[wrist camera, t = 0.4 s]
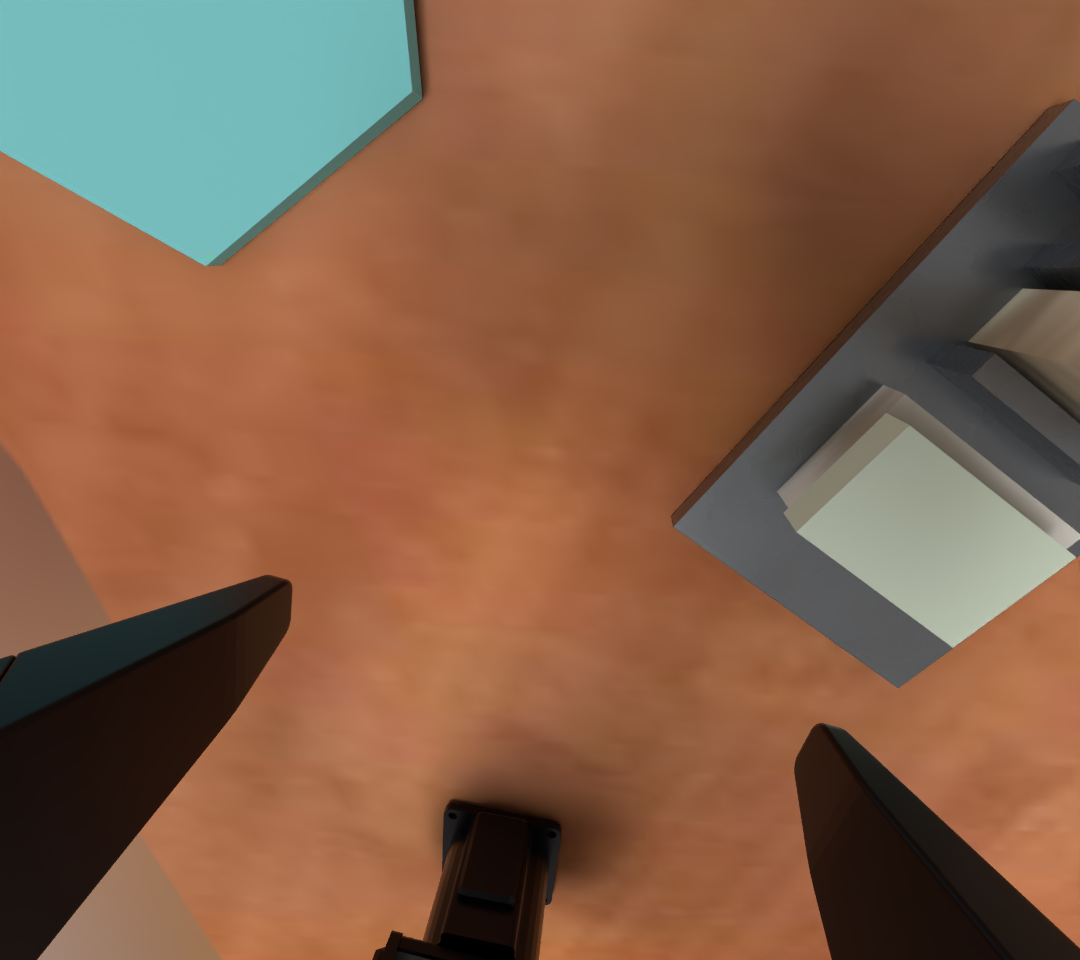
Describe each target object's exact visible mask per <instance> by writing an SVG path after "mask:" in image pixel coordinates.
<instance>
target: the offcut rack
mask: <svg viewBox="0 0 1080 960" xmlns="http://www.w3.org/2000/svg"><path fill="white" fill-rule="evenodd" d="M1022 289H1043V290H1063V291H1080V104H1079V103H1078V102H1077V101H1076V100H1075V99H1073V100H1070V101H1067V102H1065V103H1062V104H1059V105H1057V106H1054V107H1051V108H1049V109H1047V110H1046V111H1045V112H1044V114H1043V115H1042V116H1041V117H1040V118H1039V119H1038V120H1037V121H1036V122H1035V123H1034V124H1033V125H1032V127H1031V128H1030V129H1029V130H1028V131H1027V132H1026V133H1025V134H1024V135H1023V136H1022V137H1021V138H1020V140H1019V141H1018V142H1017V143H1016V144H1015V145H1014V146H1013V147H1012V148H1011V149H1010V150H1009V151H1008V152H1007V154H1006V155H1005V156H1004V157H1003V158H1002V159H1001V160H1000V161H999V162H998V163H997V164H996V165H995V167H994V168H993V169H992V170H991V171H990V172H989V173H988V174H987V175H986V176H985V177H984V178H983V180H982V181H981V182H980V183H979V184H978V185H977V186H976V187H975V188H974V189H973V190H972V191H971V192H970V194H969V195H968V196H967V197H966V198H965V199H964V200H963V201H962V202H961V203H960V204H959V205H958V207H957V208H956V209H955V210H954V211H953V212H952V213H951V214H950V215H949V216H948V217H947V218H946V220H945V221H944V222H943V223H942V224H941V225H940V226H939V227H938V228H937V229H936V230H935V231H934V233H933V234H932V235H931V236H930V237H929V238H928V239H927V240H926V241H925V242H924V243H923V244H922V245H921V247H920V248H919V249H918V250H917V251H916V252H915V253H914V254H913V255H912V256H911V257H910V258H909V260H908V261H907V262H906V263H905V264H904V265H903V266H902V267H901V268H900V269H899V270H898V271H897V273H896V274H895V275H894V276H893V277H892V278H891V279H890V280H889V281H888V282H887V283H886V284H885V285H884V287H883V288H882V289H881V290H880V291H879V292H878V293H877V294H876V295H875V296H874V297H873V298H872V300H871V301H870V302H869V303H868V304H867V305H866V306H865V307H864V308H863V309H862V310H861V311H860V313H859V314H858V315H857V316H856V317H855V318H854V319H853V320H852V321H851V322H850V323H849V324H848V326H847V327H846V328H845V329H844V330H843V331H842V332H841V333H840V334H839V335H838V336H837V337H836V338H835V340H834V341H833V342H832V343H831V344H830V345H829V346H828V347H827V348H826V349H825V350H824V351H823V353H822V354H821V355H820V356H819V357H818V358H817V359H816V360H815V361H814V362H813V363H812V364H811V366H810V367H809V368H808V369H807V370H806V371H805V372H804V373H803V374H802V375H801V376H800V377H799V378H798V380H797V381H796V382H795V383H794V384H793V385H792V386H791V387H790V388H789V389H788V390H787V391H786V393H785V394H784V395H783V396H782V397H781V398H780V399H779V400H778V401H777V402H776V403H775V404H774V406H773V407H772V408H771V409H770V410H769V411H768V412H767V413H766V414H765V415H764V416H763V417H762V419H761V420H760V421H759V422H758V423H757V424H756V425H755V426H754V427H753V428H752V429H751V430H750V431H749V433H748V434H747V435H746V436H745V437H744V438H743V439H742V440H741V441H740V442H739V443H738V444H737V446H736V447H735V448H734V449H733V450H732V451H731V452H730V453H729V454H728V455H727V456H726V457H725V459H724V460H723V461H722V462H721V463H720V464H719V465H718V466H717V467H716V468H715V469H714V470H713V471H712V473H711V474H710V475H709V476H708V477H707V478H706V479H705V480H704V481H703V482H702V483H701V484H700V486H699V487H698V488H697V489H696V490H695V491H694V492H693V493H692V494H691V495H690V496H689V497H688V499H687V500H686V501H685V502H684V503H683V504H682V505H681V506H680V507H679V508H678V509H677V510H676V512H675V513H674V514H673V515H672V516H671V518H672V523H673V527H674V528H675V529H677V530H678V531H680V532H681V533H682V534H684V535H685V536H687V537H688V538H689V539H691V540H692V541H694V542H695V543H696V544H698V545H699V546H701V547H702V548H703V549H705V550H706V551H708V552H709V553H710V554H712V555H713V556H714V557H716V558H717V559H719V560H720V561H721V562H723V563H724V564H726V565H727V566H728V567H730V568H731V569H733V570H734V571H735V572H737V573H738V574H740V575H741V576H742V577H744V578H745V579H747V580H748V581H749V582H751V583H752V584H753V585H755V586H756V587H758V588H759V589H760V590H762V591H763V592H765V593H766V594H767V595H769V596H770V597H772V598H773V599H774V600H776V601H777V602H779V603H780V604H781V605H783V606H784V607H786V608H787V609H788V610H790V611H791V612H793V613H794V614H795V615H797V616H798V617H799V618H801V619H802V620H804V621H805V622H806V623H808V624H809V625H811V626H812V627H813V628H815V629H816V630H818V631H819V632H820V633H822V634H823V635H825V636H826V637H827V638H829V639H830V640H832V641H833V642H834V643H836V644H837V645H838V646H840V647H841V648H843V649H844V650H845V651H847V652H848V653H850V654H851V655H852V656H854V657H855V658H857V659H858V660H859V661H861V662H862V663H864V664H865V665H866V666H868V667H869V668H871V669H872V670H873V671H875V672H876V673H878V674H879V675H880V676H882V677H883V678H884V679H886V680H887V681H889V682H890V683H891V684H893V685H894V686H896V687H897V688H899V687H901V686H902V685H903V684H905V683H906V682H908V681H909V680H910V679H912V678H913V677H914V676H916V675H917V674H918V673H920V672H921V671H923V670H924V669H925V668H927V667H928V666H929V665H931V664H932V663H933V662H935V661H936V660H938V659H939V658H940V657H942V656H943V655H944V654H946V653H947V652H948V651H950V650H951V649H953V648H952V647H951V646H950V645H948V644H947V643H946V642H944V641H943V640H942V639H940V638H939V637H938V636H936V635H935V634H934V633H932V632H931V631H930V630H928V629H927V628H925V627H924V626H923V625H921V624H920V623H919V622H917V621H916V620H915V619H913V618H912V617H911V616H909V615H908V614H907V613H905V612H904V611H902V610H901V609H900V608H898V607H897V606H896V605H894V604H893V603H892V602H890V601H889V600H888V599H886V598H885V597H884V596H882V595H881V594H879V593H878V592H877V591H875V590H874V589H873V588H871V587H870V586H869V585H867V584H866V583H865V582H863V581H862V580H861V579H859V578H858V577H857V576H855V575H854V574H852V573H851V572H850V571H848V570H847V569H846V568H844V567H843V566H842V565H840V564H839V563H838V562H836V561H835V560H834V559H832V558H831V557H829V556H828V555H827V554H825V553H824V552H823V551H821V550H820V549H819V548H817V547H816V546H815V545H813V544H812V543H811V542H809V541H808V540H806V539H805V538H804V537H802V536H801V535H800V534H798V533H797V532H796V531H795V529H794V528H793V526H792V525H791V523H790V522H789V520H788V519H787V518H786V516H785V515H784V512H785V511H786V510H787V509H788V507H787V505H786V504H785V502H784V501H783V500H782V498H781V497H780V495H779V494H778V493H777V491H778V490H779V489H780V488H781V487H782V486H783V485H784V484H785V483H786V482H787V481H788V480H789V479H790V478H791V477H792V476H793V475H794V474H795V473H796V472H797V471H798V470H799V469H800V468H801V467H802V466H803V465H804V464H805V463H806V462H807V461H808V460H809V459H810V458H811V457H812V456H813V455H814V454H815V453H816V452H817V451H818V450H819V449H820V448H821V447H822V446H823V445H824V444H825V443H826V442H827V441H828V440H829V439H830V438H831V437H832V436H833V435H834V434H835V433H836V432H837V431H838V430H839V429H840V428H841V427H842V426H843V425H844V424H845V423H846V422H847V421H848V420H849V419H850V418H851V417H852V416H853V415H854V414H855V413H856V412H857V411H858V410H859V409H860V408H861V407H862V406H863V405H864V404H865V403H866V402H867V401H868V400H869V399H870V398H871V397H872V396H873V395H874V394H875V393H876V392H877V391H878V390H879V389H880V388H881V387H882V386H883V385H885V386H887V387H890V388H892V389H894V390H896V391H899V392H901V393H903V394H905V395H907V396H908V397H909V398H910V399H912V400H913V401H914V402H915V403H917V404H918V405H919V406H920V407H922V408H923V409H924V410H925V411H927V412H928V413H929V414H930V415H932V416H933V417H934V418H935V419H937V420H938V421H939V422H940V423H942V424H943V425H944V426H945V427H947V428H948V429H949V430H950V431H952V432H953V433H954V434H955V435H957V436H958V437H959V438H961V439H962V440H963V441H964V442H966V443H967V444H968V445H969V446H971V447H972V448H973V449H974V450H976V451H977V452H978V453H979V454H981V455H982V456H983V457H984V458H986V459H987V460H988V461H989V462H991V463H992V464H993V465H994V466H996V467H997V468H998V469H999V470H1001V471H1002V472H1003V473H1004V474H1006V475H1007V476H1008V477H1009V478H1011V479H1012V480H1013V481H1014V482H1016V483H1017V484H1018V485H1019V486H1021V487H1022V488H1023V489H1024V490H1026V491H1027V492H1028V493H1029V494H1031V495H1032V496H1033V497H1034V498H1036V499H1037V500H1038V501H1039V502H1041V503H1042V504H1043V505H1044V506H1046V507H1047V508H1048V509H1049V510H1051V511H1052V512H1053V513H1054V514H1056V515H1057V516H1058V517H1059V518H1061V519H1062V520H1063V521H1064V522H1066V523H1067V524H1068V525H1069V526H1071V527H1072V528H1073V529H1074V530H1076V531H1077V532H1078V533H1079V534H1080V423H1078V422H1077V421H1076V420H1075V419H1074V418H1072V417H1071V416H1070V415H1069V414H1068V413H1066V412H1065V411H1064V410H1063V409H1062V408H1060V407H1059V406H1058V405H1057V404H1056V403H1054V402H1053V401H1052V400H1051V399H1050V398H1048V397H1047V396H1046V395H1045V394H1044V393H1042V392H1041V391H1040V390H1039V389H1038V388H1036V387H1035V386H1034V385H1033V384H1032V383H1030V382H1029V381H1028V380H1027V379H1026V378H1024V377H1023V376H1022V375H1021V374H1019V373H1018V372H1017V371H1016V370H1015V369H1013V368H1012V367H1011V366H1010V365H1009V364H1007V363H1006V362H1005V361H1004V360H1003V359H1001V358H1000V357H999V356H998V355H997V354H995V353H991V352H986V351H982V350H977V349H976V348H975V347H974V346H973V345H971V344H970V343H969V342H968V341H969V340H970V339H971V338H972V337H973V336H974V335H975V334H976V333H977V332H978V331H979V330H980V329H981V328H982V327H983V326H984V325H985V324H987V323H988V322H989V321H990V320H991V319H992V318H993V317H994V316H995V315H996V314H997V313H998V312H999V311H1000V310H1001V309H1002V308H1003V307H1004V306H1005V305H1006V304H1007V303H1008V302H1009V301H1010V300H1011V299H1012V298H1013V297H1014V296H1016V295H1017V294H1018V293H1019V292H1020V291H1021V290H1022ZM1066 550H1068V551H1069V552H1070V553H1072V554H1073V555H1074V556H1075V557H1076V558H1077V557H1078V556H1080V539H1079V540H1078V541H1077V542H1075V543H1074V544H1073V545H1071V546H1070V547H1069V548H1067V549H1066ZM1076 558H1075V559H1076ZM1072 561H1073V560H1072ZM1068 564H1069V563H1068ZM1064 567H1065V566H1064ZM1061 569H1062V568H1061ZM1061 569H1060V570H1061ZM1057 572H1058V571H1057ZM1053 575H1054V574H1053ZM1050 577H1051V576H1050ZM1050 577H1049V578H1050ZM1046 580H1047V579H1046ZM1046 580H1045V581H1046ZM1042 583H1043V582H1042ZM1038 586H1039V585H1038ZM1035 588H1036V587H1035ZM1035 588H1034V589H1035ZM1031 591H1032V590H1031ZM1027 594H1028V593H1027ZM1023 597H1024V596H1023ZM1020 599H1021V598H1020ZM1020 599H1019V600H1020ZM1016 602H1017V601H1016ZM1012 605H1013V604H1012ZM1008 608H1009V607H1008ZM1005 610H1006V609H1005ZM1005 610H1004V611H1005ZM1001 613H1002V612H1001ZM997 616H998V615H997ZM994 618H995V617H994ZM994 618H993V619H994ZM990 621H991V620H990ZM986 624H987V623H986ZM982 627H983V626H982ZM979 629H980V628H979ZM979 629H978V630H979ZM975 632H976V631H975ZM971 635H972V634H971ZM967 638H968V637H967ZM964 640H965V639H964ZM964 640H963V641H964ZM960 643H961V642H960ZM956 646H957V645H956Z"/></svg>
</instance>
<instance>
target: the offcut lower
mask: <svg viewBox="0 0 1080 960" xmlns="http://www.w3.org/2000/svg"><path fill="white" fill-rule="evenodd" d="M885 413H888V414H889V415H891V416H893V417H895V418H897V419H899V420H901V421H903V422H904V423H906V424H908V425H910V426H911V427H912V428H914V429H915V430H916V431H917V432H919V433H920V434H921V435H923V436H924V437H925V438H926V439H928V440H929V441H930V442H931V443H933V444H934V445H935V446H936V447H938V448H939V449H940V450H941V451H943V452H944V453H945V454H947V455H948V456H949V457H950V458H952V459H953V460H954V461H955V462H957V463H958V464H959V465H960V466H962V467H963V468H964V469H965V470H967V471H968V472H969V473H971V474H972V475H973V476H974V477H976V478H977V479H978V480H979V481H981V482H982V483H983V484H984V485H986V486H987V487H988V488H989V489H991V490H992V491H993V492H995V493H996V494H997V495H998V496H1000V497H1001V498H1002V499H1003V500H1005V501H1006V502H1007V503H1008V504H1010V505H1011V506H1012V507H1013V508H1015V509H1016V510H1017V511H1019V512H1020V513H1021V514H1022V515H1024V516H1025V517H1026V518H1027V519H1029V520H1030V521H1031V522H1032V523H1034V524H1035V525H1036V526H1037V527H1039V528H1040V529H1041V530H1043V531H1044V532H1045V533H1046V534H1048V535H1049V536H1050V537H1051V538H1053V539H1054V540H1055V541H1056V542H1058V543H1059V544H1060V545H1061V546H1063V547H1064V548H1065V549H1067V548H1069V547H1070V546H1071V545H1073V544H1074V543H1075V542H1077V541H1078V540H1079V539H1080V534H1079V533H1078V532H1077V531H1076V530H1074V529H1073V528H1072V527H1071V526H1069V525H1068V524H1067V523H1066V522H1064V521H1063V520H1062V519H1061V518H1059V517H1058V516H1057V515H1056V514H1054V513H1053V512H1052V511H1051V510H1049V509H1048V508H1047V507H1046V506H1044V505H1043V504H1042V503H1041V502H1039V501H1038V500H1037V499H1036V498H1034V497H1033V496H1032V495H1031V494H1029V493H1028V492H1027V491H1026V490H1024V489H1023V488H1022V487H1021V486H1019V485H1018V484H1017V483H1016V482H1014V481H1013V480H1012V479H1011V478H1009V477H1008V476H1007V475H1006V474H1004V473H1003V472H1002V471H1001V470H999V469H998V468H997V467H996V466H994V465H993V464H992V463H991V462H989V461H988V460H987V459H986V458H984V457H983V456H982V455H981V454H979V453H978V452H977V451H976V450H974V449H973V448H972V447H971V446H969V445H968V444H967V443H966V442H964V441H963V440H962V439H961V438H959V437H958V436H957V435H955V434H954V433H953V432H952V431H950V430H949V429H948V428H947V427H945V426H944V425H943V424H942V423H940V422H939V421H938V420H937V419H935V418H934V417H933V416H932V415H930V414H929V413H928V412H927V411H925V410H924V409H923V408H922V407H920V406H919V405H918V404H917V403H915V402H914V401H913V400H912V399H910V398H909V397H908V396H907V395H905V394H903V393H901V392H899V391H896V390H894V389H892V388H890V387H887V386H885V385H883V386H882V387H881V388H880V389H879V390H878V391H877V392H876V393H875V394H874V395H873V396H872V397H871V398H870V399H869V400H868V401H867V402H866V403H865V404H864V405H863V406H862V407H861V408H860V409H859V410H858V411H857V412H856V413H855V414H854V415H853V416H852V417H851V418H850V419H849V420H848V421H847V422H846V423H845V424H844V425H843V426H842V427H841V428H840V429H839V430H838V431H837V432H836V433H835V434H834V435H833V436H832V437H831V438H830V439H829V440H828V441H827V442H826V443H825V444H824V445H823V446H822V447H821V448H820V449H819V450H818V451H817V452H816V453H815V454H814V455H813V456H812V457H811V458H810V459H809V460H808V461H807V462H806V463H805V464H804V465H803V466H802V467H801V468H800V469H799V470H798V471H797V472H796V473H795V474H794V475H793V476H792V477H791V478H790V479H789V480H788V481H787V482H786V483H785V484H784V485H783V486H782V487H781V488H780V489H779V490H778V491H777V493H778V494H779V495H780V497H781V498H782V500H783V501H784V502H785V504H786V505H787V507H788V508H789V507H790V506H791V505H792V504H793V503H794V502H795V501H796V500H797V499H798V498H799V497H800V496H801V495H802V494H803V493H804V492H805V491H806V490H807V489H808V488H809V487H810V486H811V485H812V484H813V483H815V482H816V481H817V480H818V479H819V478H820V477H821V476H822V475H823V474H824V473H825V472H826V471H827V470H828V469H829V468H830V467H831V466H832V465H833V464H834V463H835V462H836V461H837V460H838V459H839V458H840V457H841V456H842V455H843V454H844V453H845V452H846V451H847V450H848V449H849V448H851V447H852V446H853V445H854V444H855V443H856V442H857V441H858V440H859V439H860V438H861V437H862V436H863V435H864V434H865V433H866V432H867V431H868V430H869V429H870V428H871V427H872V426H873V425H874V424H875V423H876V422H877V421H878V420H879V419H880V418H881V417H882V416H883V415H884V414H885Z"/></svg>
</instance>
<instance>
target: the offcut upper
mask: <svg viewBox="0 0 1080 960" xmlns="http://www.w3.org/2000/svg"><path fill="white" fill-rule="evenodd" d="M784 515H785V516H786V518H787V519H788V520H789V522H790V523H791V525H792V526H793V528H794V529H795V531H796V532H797V533H798V534H800V535H801V536H802V537H804V538H805V539H806V540H808V541H809V542H811V543H812V544H813V545H815V546H816V547H817V548H819V549H820V550H821V551H823V552H824V553H825V554H827V555H828V556H829V557H831V558H832V559H834V560H835V561H836V562H838V563H839V564H840V565H842V566H843V567H844V568H846V569H847V570H848V571H850V572H851V573H852V574H854V575H855V576H857V577H858V578H859V579H861V580H862V581H863V582H865V583H866V584H867V585H869V586H870V587H871V588H873V589H874V590H875V591H877V592H878V593H879V594H881V595H882V596H884V597H885V598H886V599H888V600H889V601H890V602H892V603H893V604H894V605H896V606H897V607H898V608H900V609H901V610H902V611H904V612H905V613H907V614H908V615H909V616H911V617H912V618H913V619H915V620H916V621H917V622H919V623H920V624H921V625H923V626H924V627H925V628H927V629H928V630H930V631H931V632H932V633H934V634H935V635H936V636H938V637H939V638H940V639H942V640H943V641H944V642H946V643H947V644H948V645H950V646H951V647H952V648H954V647H955V646H956V645H958V644H959V643H960V642H962V641H963V640H964V639H966V638H967V637H969V636H970V635H971V634H973V633H974V632H975V631H977V630H978V629H979V628H981V627H982V626H984V625H985V624H986V623H988V622H989V621H990V620H992V619H993V618H994V617H996V616H997V615H999V614H1000V613H1001V612H1003V611H1004V610H1005V609H1007V608H1008V607H1010V606H1011V605H1012V604H1014V603H1015V602H1016V601H1018V600H1019V599H1020V598H1022V597H1023V596H1025V595H1026V594H1027V593H1029V592H1030V591H1031V590H1033V589H1034V588H1035V587H1037V586H1038V585H1040V584H1041V583H1042V582H1044V581H1045V580H1046V579H1048V578H1049V577H1050V576H1052V575H1053V574H1055V573H1056V572H1057V571H1059V570H1060V569H1061V568H1063V567H1064V566H1066V565H1067V564H1068V563H1070V562H1071V561H1072V560H1074V559H1075V558H1076V557H1075V556H1074V555H1073V554H1072V553H1070V552H1069V551H1068V550H1066V549H1065V548H1064V547H1063V546H1061V545H1060V544H1059V543H1058V542H1056V541H1055V540H1054V539H1053V538H1051V537H1050V536H1049V535H1048V534H1046V533H1045V532H1044V531H1043V530H1041V529H1040V528H1039V527H1037V526H1036V525H1035V524H1034V523H1032V522H1031V521H1030V520H1029V519H1027V518H1026V517H1025V516H1024V515H1022V514H1021V513H1020V512H1019V511H1017V510H1016V509H1015V508H1013V507H1012V506H1011V505H1010V504H1008V503H1007V502H1006V501H1005V500H1003V499H1002V498H1001V497H1000V496H998V495H997V494H996V493H995V492H993V491H992V490H991V489H989V488H988V487H987V486H986V485H984V484H983V483H982V482H981V481H979V480H978V479H977V478H976V477H974V476H973V475H972V474H971V473H969V472H968V471H967V470H965V469H964V468H963V467H962V466H960V465H959V464H958V463H957V462H955V461H954V460H953V459H952V458H950V457H949V456H948V455H947V454H945V453H944V452H943V451H941V450H940V449H939V448H938V447H936V446H935V445H934V444H933V443H931V442H930V441H929V440H928V439H926V438H925V437H924V436H923V435H921V434H920V433H919V432H917V431H916V430H915V429H914V428H912V427H911V426H910V425H908V424H906V423H904V422H903V421H901V420H899V419H897V418H895V417H893V416H891V415H889V414H888V413H885V414H884V415H883V416H882V417H881V418H880V419H879V420H878V421H877V422H876V423H875V424H874V425H873V426H872V427H871V428H870V429H869V430H868V431H867V432H866V433H865V434H864V435H863V436H862V437H861V438H860V439H859V440H858V441H857V442H856V443H855V444H854V445H853V446H852V447H851V448H849V449H848V450H847V451H846V452H845V453H844V454H843V455H842V456H841V457H840V458H839V459H838V460H837V461H836V462H835V463H834V464H833V465H832V466H831V467H830V468H829V469H828V470H827V471H826V472H825V473H824V474H823V475H822V476H821V477H820V478H819V479H818V480H817V481H816V482H815V483H813V484H812V485H811V486H810V487H809V488H808V489H807V490H806V491H805V492H804V493H803V494H802V495H801V496H800V497H799V498H798V499H797V500H796V501H795V502H794V503H793V504H792V505H791V506H790V507H789V508H788V509H787V510H786V511H785V512H784Z"/></svg>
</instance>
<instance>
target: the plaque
mask: <svg viewBox="0 0 1080 960" xmlns="http://www.w3.org/2000/svg"><path fill="white" fill-rule="evenodd" d="M422 99H423V98H422V87H421V76H420V65H419V54H418V44H417V33H416V22H415V11H414V0H0V151H1V152H3V153H5V154H7V155H8V156H10V157H12V158H14V159H15V160H17V161H19V162H21V163H23V164H24V165H26V166H28V167H30V168H32V169H33V170H35V171H37V172H39V173H40V174H42V175H44V176H46V177H48V178H49V179H51V180H53V181H55V182H57V183H58V184H60V185H62V186H64V187H65V188H67V189H69V190H71V191H73V192H74V193H76V194H78V195H80V196H81V197H83V198H85V199H87V200H89V201H90V202H92V203H94V204H96V205H98V206H99V207H101V208H103V209H105V210H106V211H108V212H110V213H112V214H114V215H115V216H117V217H119V218H121V219H123V220H124V221H126V222H128V223H130V224H131V225H133V226H135V227H137V228H139V229H140V230H142V231H144V232H146V233H147V234H149V235H151V236H153V237H155V238H156V239H158V240H160V241H162V242H164V243H165V244H167V245H169V246H171V247H172V248H174V249H176V250H178V251H180V252H181V253H183V254H185V255H187V256H189V257H190V258H192V259H194V260H196V261H197V262H199V263H201V264H203V265H205V266H218V265H221V264H223V263H224V262H225V261H226V260H227V259H229V258H230V257H231V256H232V255H233V254H235V253H236V252H237V251H238V250H240V249H241V248H242V247H243V246H244V245H246V244H247V243H248V242H249V241H251V240H252V239H253V238H254V237H255V236H257V235H258V234H259V233H260V232H261V231H263V230H264V229H265V228H266V227H268V226H269V225H270V224H271V223H272V222H274V221H275V220H276V219H277V218H279V217H280V216H281V215H282V214H283V213H285V212H286V211H287V210H288V209H289V208H291V207H292V206H293V205H294V204H296V203H297V202H298V201H299V200H300V199H302V198H303V197H304V196H305V195H307V194H308V193H309V192H310V191H311V190H313V189H314V188H315V187H316V186H318V185H319V184H320V183H321V182H322V181H324V180H325V179H326V178H327V177H328V176H330V175H331V174H332V173H333V172H335V171H336V170H337V169H338V168H339V167H341V166H342V165H343V164H344V163H346V162H347V161H348V160H349V159H350V158H352V157H353V156H354V155H355V154H356V153H358V152H359V151H360V150H361V149H363V148H364V147H365V146H366V145H367V144H369V143H370V142H371V141H372V140H374V139H375V138H376V137H377V136H378V135H380V134H381V133H382V132H383V131H385V130H386V129H387V128H388V127H389V126H391V125H392V124H393V123H394V122H395V121H397V120H398V119H399V118H400V117H402V116H403V115H404V114H405V113H406V112H408V111H409V110H410V109H411V108H412V107H414V106H415V105H416V104H417V103H418V102H420V101H421V100H422Z"/></svg>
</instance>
